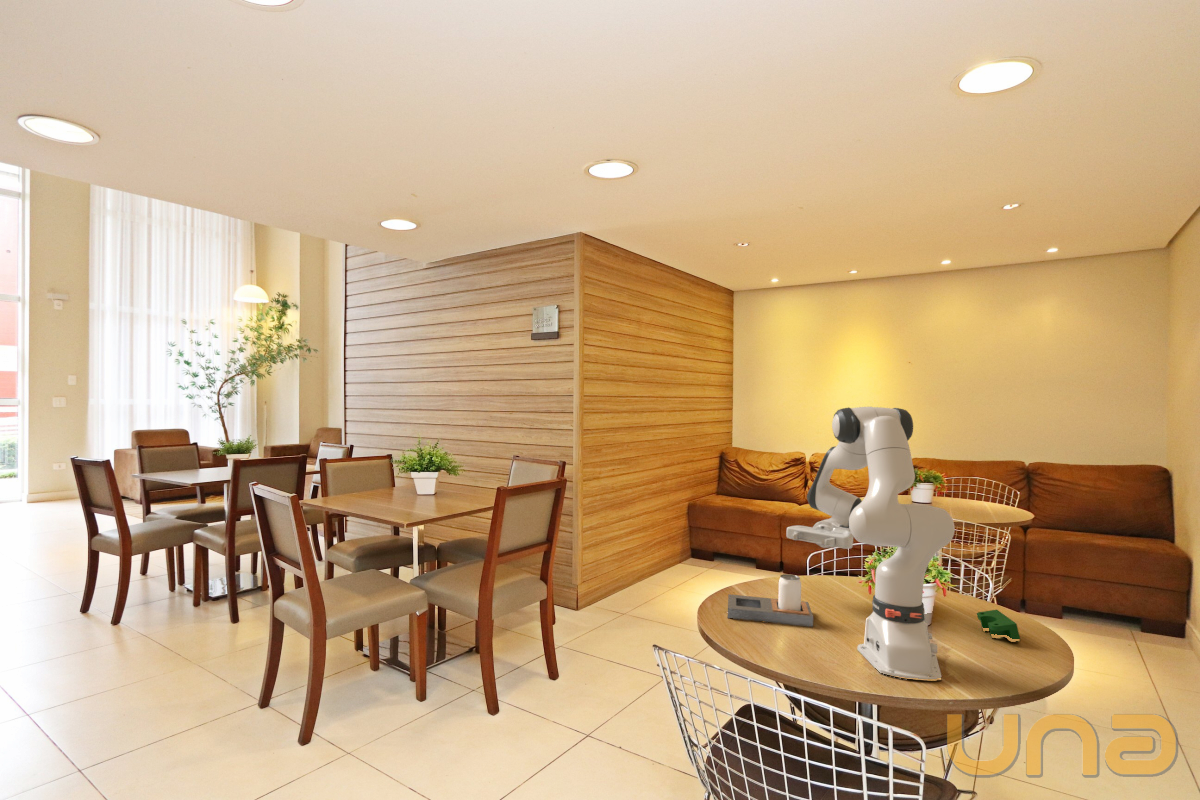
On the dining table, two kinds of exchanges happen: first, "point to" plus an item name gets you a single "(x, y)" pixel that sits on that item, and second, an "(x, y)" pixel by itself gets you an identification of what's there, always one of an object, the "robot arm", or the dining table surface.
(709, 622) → the dining table surface
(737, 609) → the grey tray
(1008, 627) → the clamp
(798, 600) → the can
